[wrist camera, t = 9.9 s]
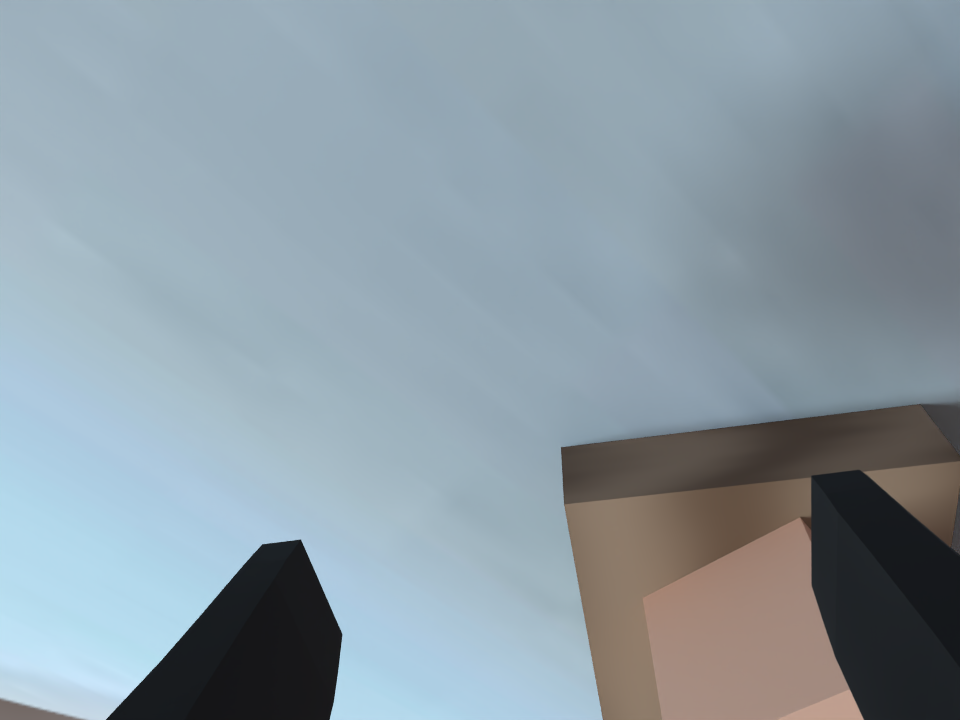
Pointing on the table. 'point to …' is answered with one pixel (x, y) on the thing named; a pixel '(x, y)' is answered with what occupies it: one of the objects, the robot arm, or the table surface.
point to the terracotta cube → (747, 638)
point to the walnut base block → (721, 513)
